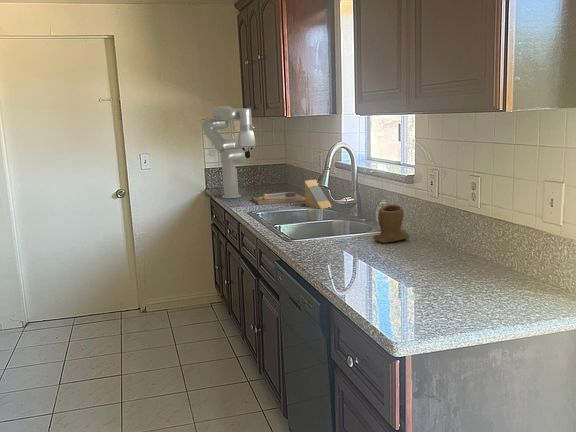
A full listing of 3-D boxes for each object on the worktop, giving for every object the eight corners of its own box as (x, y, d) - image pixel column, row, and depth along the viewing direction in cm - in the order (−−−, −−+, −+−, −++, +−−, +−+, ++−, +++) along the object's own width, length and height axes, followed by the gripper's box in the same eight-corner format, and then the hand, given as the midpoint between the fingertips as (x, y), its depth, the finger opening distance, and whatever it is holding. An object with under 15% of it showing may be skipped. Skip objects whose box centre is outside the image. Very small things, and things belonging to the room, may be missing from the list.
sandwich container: (321, 209, 322) (320, 182, 320) (305, 206, 335) (304, 180, 332) (333, 207, 327) (332, 181, 324) (316, 204, 340) (315, 179, 337)
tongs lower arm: (260, 199, 355) (260, 197, 355) (258, 198, 359) (258, 196, 358) (295, 196, 361) (295, 194, 361) (294, 195, 365) (293, 193, 365)
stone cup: (385, 246, 229) (384, 209, 226) (369, 240, 239) (368, 205, 237) (416, 241, 235) (416, 205, 232) (399, 236, 245) (399, 201, 243)
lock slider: (264, 199, 353) (264, 196, 353) (263, 199, 356) (263, 195, 355) (269, 199, 354) (269, 195, 354) (268, 198, 356) (268, 195, 356)
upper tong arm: (264, 197, 356) (264, 194, 356) (263, 196, 359) (263, 193, 359) (295, 194, 361) (295, 191, 361) (293, 193, 365) (293, 190, 364)
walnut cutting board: (251, 200, 366) (251, 197, 365) (296, 196, 373) (296, 193, 373) (258, 204, 348) (258, 201, 347) (305, 200, 355) (305, 197, 355)
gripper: (256, 127, 362) (258, 156, 366) (233, 129, 358) (234, 158, 362) (259, 128, 355) (260, 157, 358) (235, 129, 351) (237, 159, 354)
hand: (247, 158), depth 360 cm, fingers closed
